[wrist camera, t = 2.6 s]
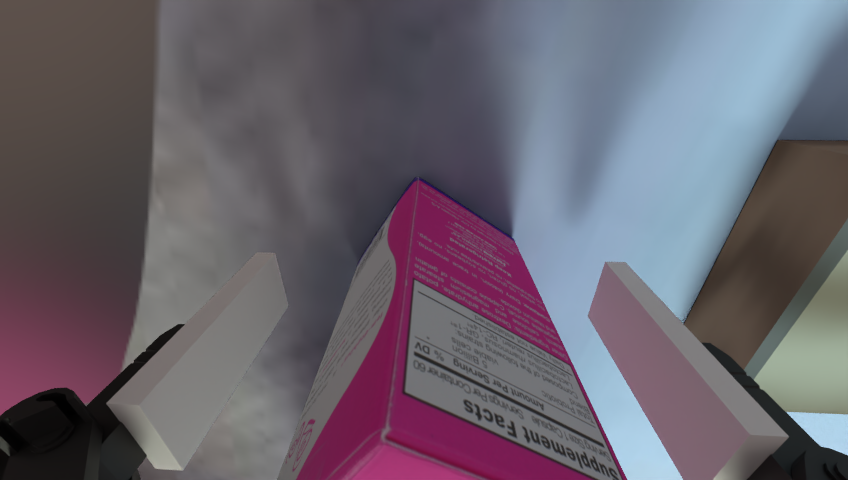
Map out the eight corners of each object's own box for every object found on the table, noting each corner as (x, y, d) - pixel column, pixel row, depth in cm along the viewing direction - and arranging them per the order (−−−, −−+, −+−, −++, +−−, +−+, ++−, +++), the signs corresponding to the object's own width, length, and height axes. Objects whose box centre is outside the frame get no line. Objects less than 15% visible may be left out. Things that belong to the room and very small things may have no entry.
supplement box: (449, 314, 18) (462, 639, 8) (355, 262, 16) (219, 572, 6) (520, 238, 15) (675, 566, 5) (417, 170, 14) (355, 433, 4)
